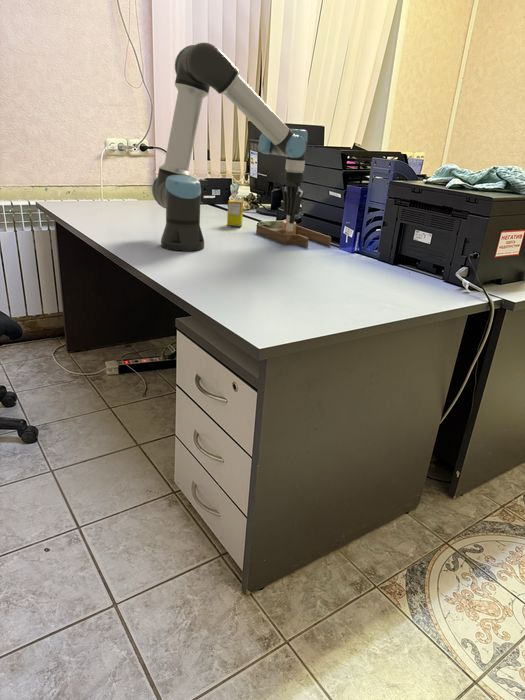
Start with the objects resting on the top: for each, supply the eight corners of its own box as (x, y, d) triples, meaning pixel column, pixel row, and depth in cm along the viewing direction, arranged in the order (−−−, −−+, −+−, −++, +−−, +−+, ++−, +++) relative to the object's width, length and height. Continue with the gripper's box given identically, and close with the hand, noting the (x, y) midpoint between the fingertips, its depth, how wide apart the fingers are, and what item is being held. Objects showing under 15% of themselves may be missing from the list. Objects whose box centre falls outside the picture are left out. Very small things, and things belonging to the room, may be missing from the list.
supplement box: (242, 225, 223) (243, 200, 219) (240, 228, 218) (241, 202, 213) (229, 224, 224) (230, 199, 219) (226, 226, 218) (228, 200, 214)
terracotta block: (283, 234, 211) (284, 222, 209) (280, 232, 215) (282, 220, 213) (295, 235, 212) (296, 223, 210) (292, 232, 216) (293, 221, 214)
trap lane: (294, 248, 189) (295, 238, 188) (248, 229, 215) (248, 221, 214) (330, 245, 198) (331, 236, 196) (281, 228, 224) (282, 220, 222)
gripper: (311, 173, 197) (305, 233, 206) (293, 169, 207) (287, 227, 216) (296, 173, 193) (290, 234, 203) (278, 169, 203) (273, 228, 213)
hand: (289, 230), depth 210 cm, fingers closed
